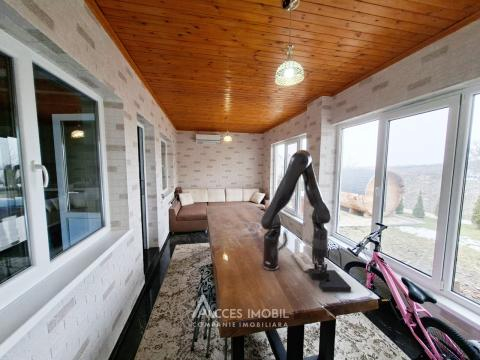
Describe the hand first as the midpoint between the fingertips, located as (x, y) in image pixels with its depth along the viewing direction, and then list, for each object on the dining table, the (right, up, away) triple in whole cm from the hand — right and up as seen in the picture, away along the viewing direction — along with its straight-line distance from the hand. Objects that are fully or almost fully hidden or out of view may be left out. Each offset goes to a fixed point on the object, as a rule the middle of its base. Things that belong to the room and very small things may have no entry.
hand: (318, 276), depth 103 cm
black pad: (0, 0, 0) cm, 0 cm away
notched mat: (+6, -3, 0) cm, 7 cm away
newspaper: (+1, -2, +22) cm, 22 cm away
